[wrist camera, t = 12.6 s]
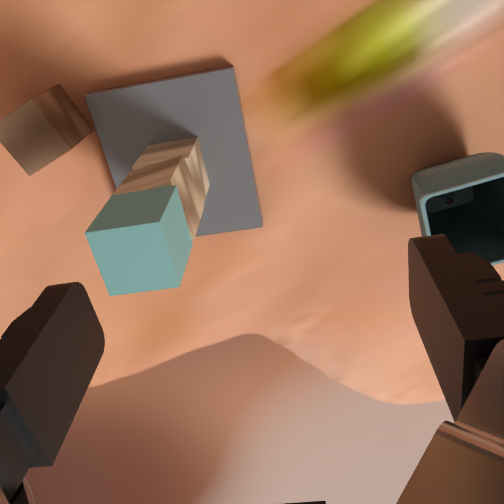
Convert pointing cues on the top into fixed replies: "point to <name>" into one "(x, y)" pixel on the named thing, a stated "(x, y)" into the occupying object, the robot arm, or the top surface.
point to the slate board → (183, 127)
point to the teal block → (141, 241)
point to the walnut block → (43, 129)
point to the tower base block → (174, 149)
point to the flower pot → (464, 204)
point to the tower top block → (166, 176)
